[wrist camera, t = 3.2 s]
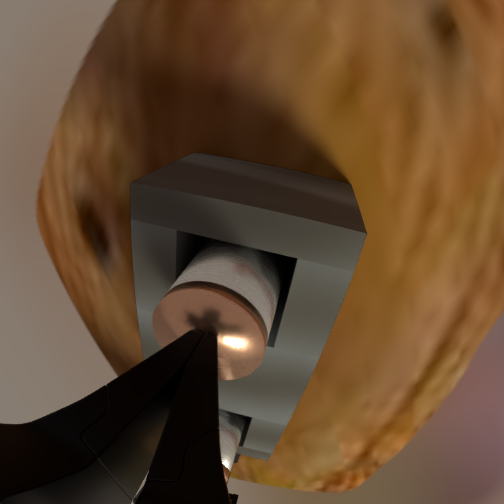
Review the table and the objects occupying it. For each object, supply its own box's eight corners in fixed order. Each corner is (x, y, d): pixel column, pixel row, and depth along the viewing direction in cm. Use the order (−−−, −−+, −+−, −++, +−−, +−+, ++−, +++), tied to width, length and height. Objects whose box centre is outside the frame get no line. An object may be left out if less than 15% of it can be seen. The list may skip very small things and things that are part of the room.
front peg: (278, 298, 14) (254, 390, 10) (205, 279, 15) (155, 360, 10) (295, 229, 13) (274, 312, 8) (212, 210, 13) (148, 278, 8)
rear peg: (246, 419, 18) (224, 489, 14) (194, 404, 19) (165, 470, 14) (254, 391, 17) (229, 472, 12) (195, 374, 17) (160, 450, 12)
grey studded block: (281, 395, 22) (267, 460, 17) (185, 369, 23) (156, 427, 18) (351, 184, 14) (367, 233, 9) (194, 152, 15) (130, 182, 10)
